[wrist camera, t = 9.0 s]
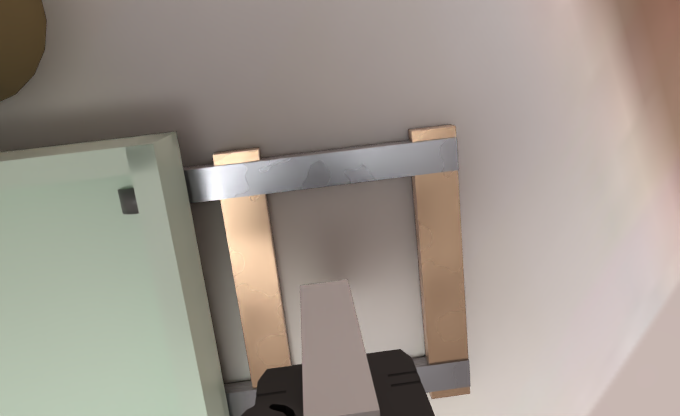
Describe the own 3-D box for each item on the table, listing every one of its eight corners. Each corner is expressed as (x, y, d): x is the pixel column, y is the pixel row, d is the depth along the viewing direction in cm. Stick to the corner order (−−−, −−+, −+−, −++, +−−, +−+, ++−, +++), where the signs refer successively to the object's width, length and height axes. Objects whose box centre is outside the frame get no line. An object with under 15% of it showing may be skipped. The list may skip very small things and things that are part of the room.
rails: (-192, 201, 19) (-210, 205, 18) (451, 124, 20) (456, 126, 19) (-94, 463, 22) (-106, 475, 21) (465, 385, 23) (470, 395, 22)
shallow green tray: (-220, 177, 18) (-320, 199, 15) (175, 131, 18) (152, 143, 16) (-95, 501, 21) (-158, 570, 18) (236, 454, 22) (226, 513, 19)
